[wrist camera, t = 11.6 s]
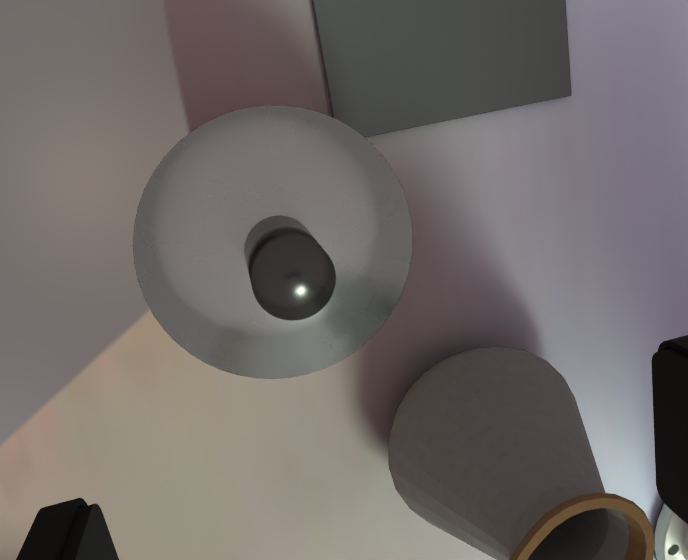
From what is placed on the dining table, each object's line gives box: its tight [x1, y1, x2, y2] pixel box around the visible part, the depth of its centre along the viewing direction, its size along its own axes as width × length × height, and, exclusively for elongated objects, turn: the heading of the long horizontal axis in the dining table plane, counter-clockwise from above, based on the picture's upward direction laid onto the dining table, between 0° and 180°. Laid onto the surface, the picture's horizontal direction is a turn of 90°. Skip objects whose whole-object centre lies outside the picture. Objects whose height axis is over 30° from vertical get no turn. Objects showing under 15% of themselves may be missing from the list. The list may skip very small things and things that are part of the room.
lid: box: [133, 105, 413, 379], centre depth 24 cm, size 12×12×6 cm
